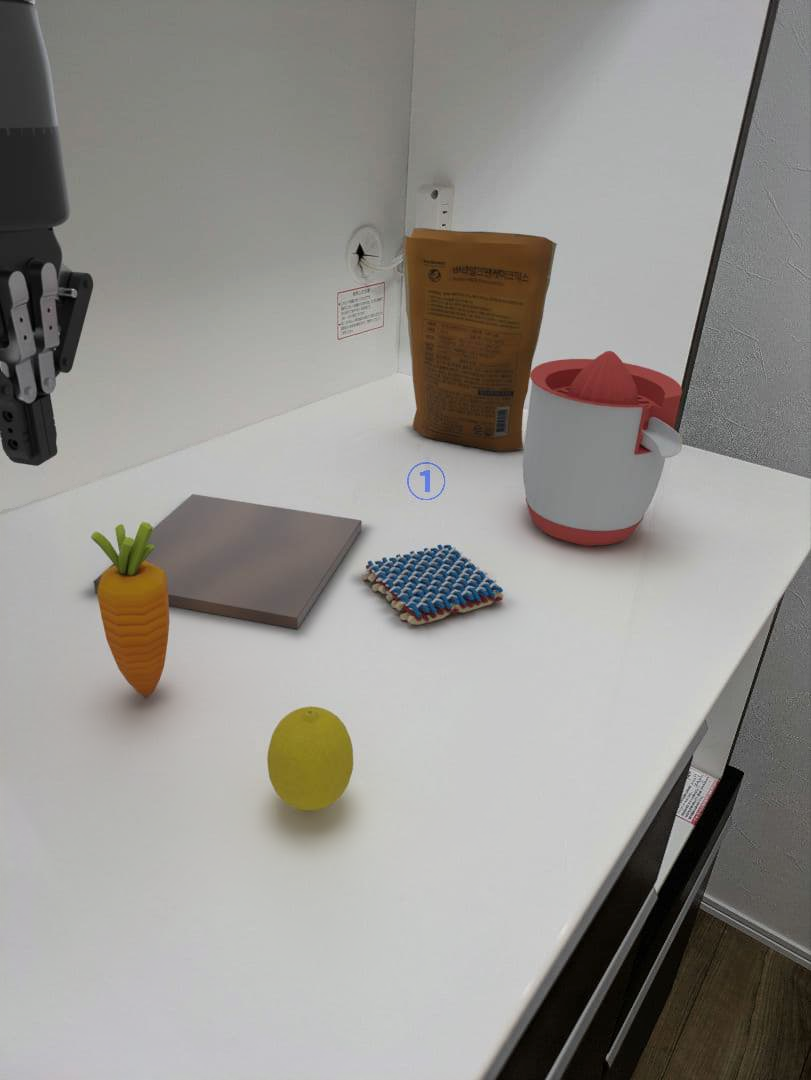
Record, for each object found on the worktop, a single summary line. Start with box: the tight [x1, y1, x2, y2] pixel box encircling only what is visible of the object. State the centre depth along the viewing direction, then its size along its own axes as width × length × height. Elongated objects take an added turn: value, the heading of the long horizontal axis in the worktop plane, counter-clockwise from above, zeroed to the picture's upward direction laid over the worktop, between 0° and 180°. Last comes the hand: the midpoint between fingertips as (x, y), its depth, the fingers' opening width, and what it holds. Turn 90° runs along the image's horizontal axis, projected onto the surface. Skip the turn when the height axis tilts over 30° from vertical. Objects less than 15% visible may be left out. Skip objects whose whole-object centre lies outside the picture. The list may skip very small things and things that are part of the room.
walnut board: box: [93, 493, 363, 630], centre depth 84 cm, size 20×20×1 cm
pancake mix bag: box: [401, 227, 558, 453], centre depth 109 cm, size 7×19×28 cm, turn 67°
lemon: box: [266, 706, 354, 812], centre depth 54 cm, size 6×6×8 cm
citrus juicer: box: [522, 350, 683, 547], centre depth 89 cm, size 16×17×20 cm
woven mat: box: [361, 543, 504, 626], centre depth 80 cm, size 10×11×2 cm
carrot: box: [90, 521, 170, 697], centre depth 61 cm, size 5×5×15 cm
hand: (33, 459), depth 47 cm, fingers closed
